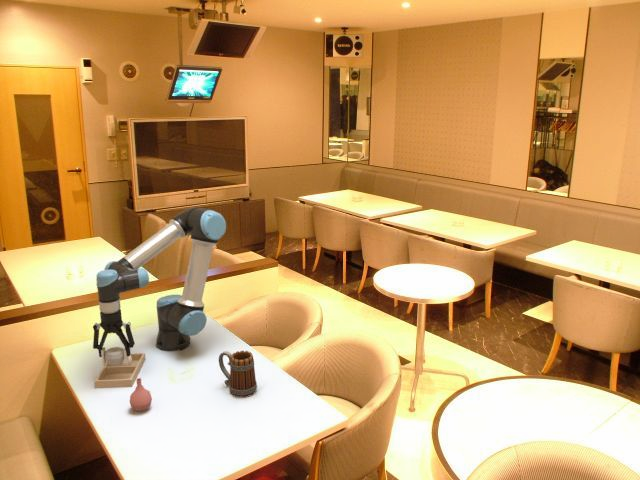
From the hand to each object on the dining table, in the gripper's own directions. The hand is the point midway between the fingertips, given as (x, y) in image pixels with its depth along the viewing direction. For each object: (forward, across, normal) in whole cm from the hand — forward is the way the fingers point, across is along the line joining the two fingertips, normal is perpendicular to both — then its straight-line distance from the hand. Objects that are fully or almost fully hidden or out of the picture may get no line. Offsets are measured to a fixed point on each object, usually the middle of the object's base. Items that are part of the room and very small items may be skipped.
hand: (115, 363), depth 216 cm
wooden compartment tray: (+8, 0, -6) cm, 10 cm away
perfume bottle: (+8, -14, +20) cm, 26 cm away
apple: (0, 0, 0) cm, 0 cm away
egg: (+7, 0, -11) cm, 13 cm away
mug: (+8, -48, +10) cm, 50 cm away
